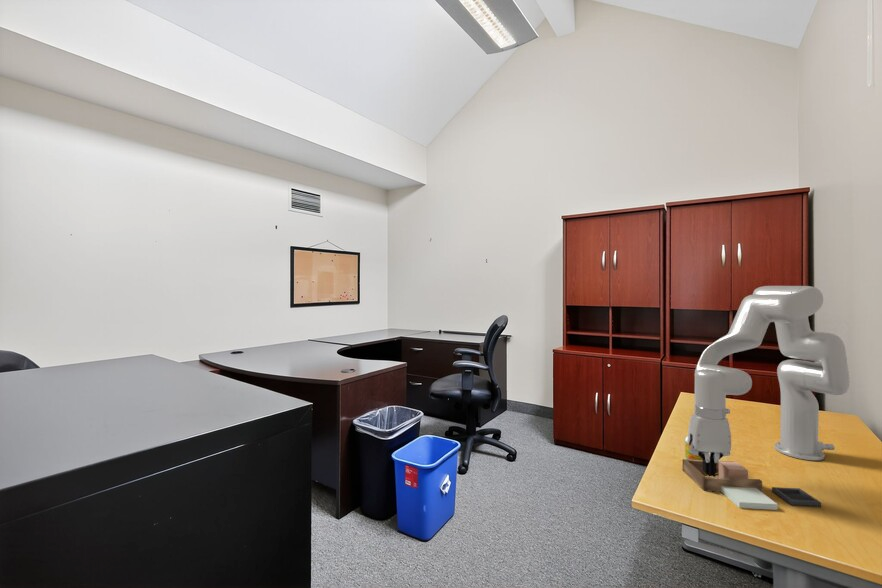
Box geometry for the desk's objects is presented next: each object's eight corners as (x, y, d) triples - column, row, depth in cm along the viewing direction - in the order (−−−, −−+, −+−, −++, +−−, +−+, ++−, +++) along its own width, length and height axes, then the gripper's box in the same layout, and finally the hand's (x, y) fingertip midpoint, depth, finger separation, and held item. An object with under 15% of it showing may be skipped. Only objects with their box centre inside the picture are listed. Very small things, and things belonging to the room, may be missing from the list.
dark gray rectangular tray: (799, 492, 108) (799, 488, 108) (821, 507, 101) (821, 502, 101) (771, 491, 109) (772, 487, 109) (791, 505, 102) (791, 501, 102)
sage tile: (756, 493, 108) (756, 487, 108) (777, 509, 100) (777, 504, 100) (721, 491, 109) (721, 486, 109) (739, 507, 101) (739, 502, 101)
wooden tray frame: (734, 472, 120) (734, 461, 120) (762, 493, 108) (762, 481, 108) (682, 470, 121) (682, 459, 121) (703, 490, 109) (703, 478, 109)
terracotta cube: (736, 478, 116) (736, 461, 116) (747, 487, 111) (747, 469, 111) (718, 477, 117) (718, 461, 117) (728, 486, 112) (729, 469, 112)
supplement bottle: (681, 458, 130) (681, 429, 130) (696, 457, 130) (696, 428, 130) (693, 465, 125) (693, 435, 124) (708, 464, 125) (709, 434, 125)
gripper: (729, 409, 117) (729, 469, 118) (676, 407, 119) (676, 467, 119) (745, 417, 110) (745, 481, 110) (689, 415, 112) (688, 479, 112)
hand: (709, 474), depth 115 cm, fingers closed
